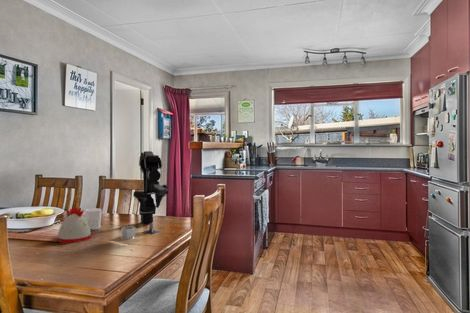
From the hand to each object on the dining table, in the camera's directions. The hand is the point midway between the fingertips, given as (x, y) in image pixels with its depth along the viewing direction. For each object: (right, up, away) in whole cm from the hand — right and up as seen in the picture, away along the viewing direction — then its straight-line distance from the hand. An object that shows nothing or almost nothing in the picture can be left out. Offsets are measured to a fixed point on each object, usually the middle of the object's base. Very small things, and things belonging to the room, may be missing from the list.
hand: (150, 209), depth 157 cm
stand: (+1, -12, -3) cm, 13 cm away
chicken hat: (-32, -12, -14) cm, 37 cm away
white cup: (-32, -11, +5) cm, 34 cm away
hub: (-7, -12, -13) cm, 19 cm away
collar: (-7, -11, -13) cm, 19 cm away
